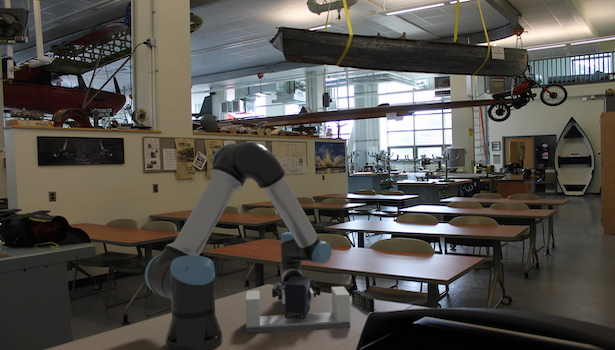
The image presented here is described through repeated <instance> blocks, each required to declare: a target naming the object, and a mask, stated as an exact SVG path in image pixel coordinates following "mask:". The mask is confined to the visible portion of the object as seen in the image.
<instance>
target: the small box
mask: <svg viewBox="0 0 615 350" xmlns="http://www.w3.org/2000/svg"><path fill="white" fill-rule="evenodd" d="M310 279H311V278H310V277H309V276H308V277H307V276H303V277H294V276H291V278H290V279H289V280H288V281H287V282H286V283H285V304H284V315H285V318H292V319H305V317H306V315H307V314H309V311H310V309H311V300H310V297H309V288H310V282H311V280H310Z"/></svg>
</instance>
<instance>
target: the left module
mask: <svg viewBox="0 0 615 350" xmlns="http://www.w3.org/2000/svg"><path fill="white" fill-rule="evenodd" d="M260 293H261V291H260V290H259V289H258V290H246V295H245V323H246V324H245V325H246V327H253V326H260V316H261V294H260Z"/></svg>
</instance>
